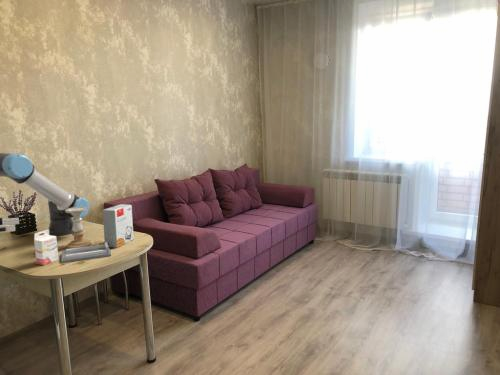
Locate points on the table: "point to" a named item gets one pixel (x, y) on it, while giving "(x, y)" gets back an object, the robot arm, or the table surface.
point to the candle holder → (77, 228)
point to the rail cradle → (86, 253)
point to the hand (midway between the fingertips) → (16, 224)
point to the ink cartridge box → (45, 248)
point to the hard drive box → (118, 225)
